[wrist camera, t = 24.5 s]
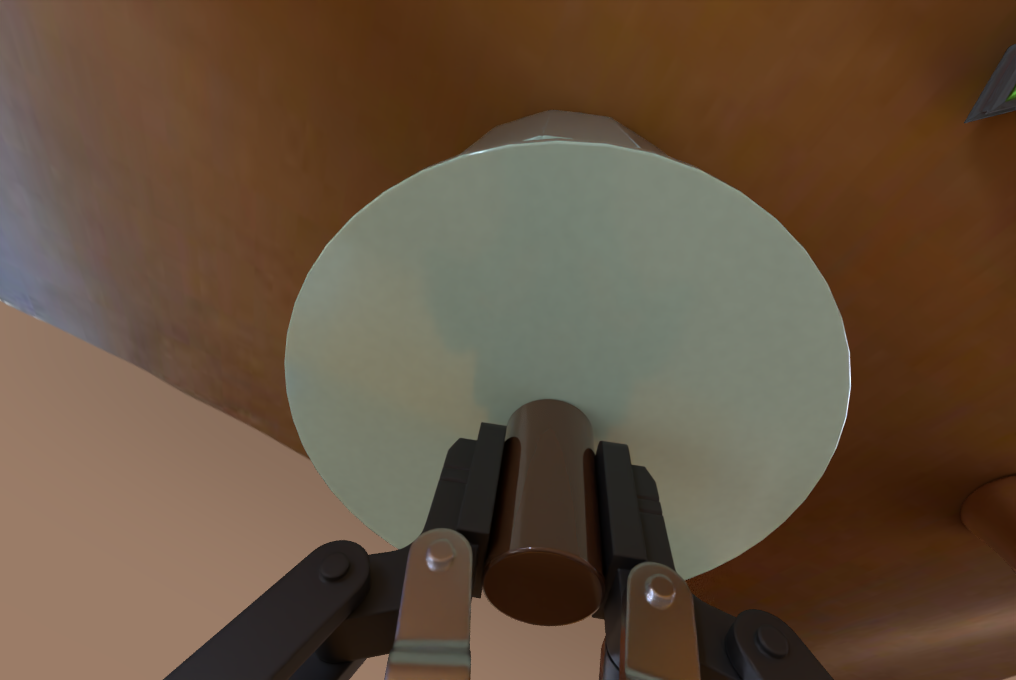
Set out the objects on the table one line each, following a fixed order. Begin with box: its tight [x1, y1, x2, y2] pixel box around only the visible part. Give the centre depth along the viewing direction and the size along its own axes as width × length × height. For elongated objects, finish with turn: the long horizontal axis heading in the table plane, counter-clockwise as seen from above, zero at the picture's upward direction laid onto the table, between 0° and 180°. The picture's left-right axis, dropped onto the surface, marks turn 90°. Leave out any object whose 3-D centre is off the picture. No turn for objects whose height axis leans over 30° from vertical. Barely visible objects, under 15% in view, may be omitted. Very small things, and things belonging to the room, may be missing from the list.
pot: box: [461, 110, 669, 157], centre depth 23 cm, size 15×15×12 cm
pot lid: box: [285, 138, 851, 626], centre depth 13 cm, size 16×16×6 cm
